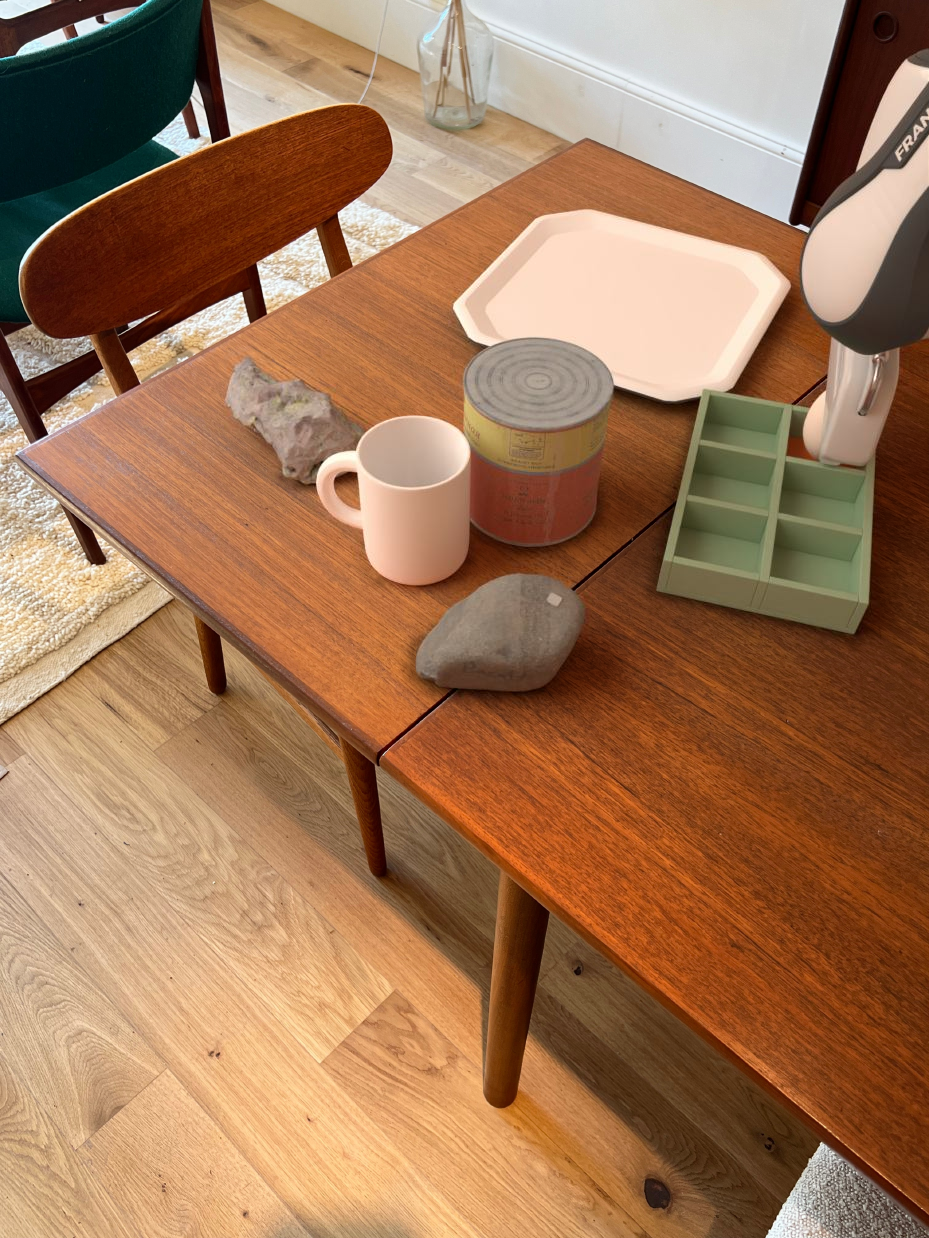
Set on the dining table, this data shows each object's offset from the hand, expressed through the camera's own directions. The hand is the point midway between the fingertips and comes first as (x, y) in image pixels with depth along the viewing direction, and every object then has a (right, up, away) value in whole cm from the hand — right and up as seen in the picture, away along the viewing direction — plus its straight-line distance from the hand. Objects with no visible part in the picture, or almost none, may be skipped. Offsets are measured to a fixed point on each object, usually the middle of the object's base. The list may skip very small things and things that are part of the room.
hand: (831, 436), depth 83 cm
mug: (-36, -10, -3) cm, 38 cm away
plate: (-15, +16, +19) cm, 29 cm away
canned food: (-25, -5, 0) cm, 26 cm away
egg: (0, -2, +2) cm, 3 cm away
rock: (-45, 0, +5) cm, 46 cm away
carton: (-6, -7, -1) cm, 9 cm away
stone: (-28, -18, -11) cm, 36 cm away
